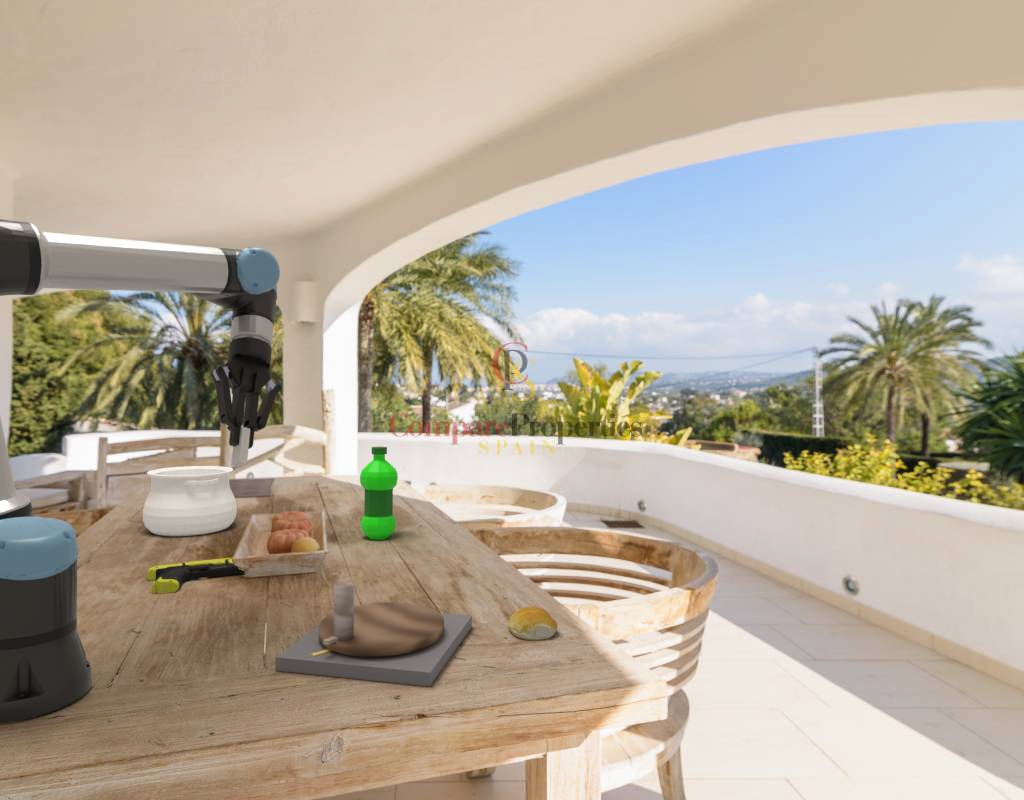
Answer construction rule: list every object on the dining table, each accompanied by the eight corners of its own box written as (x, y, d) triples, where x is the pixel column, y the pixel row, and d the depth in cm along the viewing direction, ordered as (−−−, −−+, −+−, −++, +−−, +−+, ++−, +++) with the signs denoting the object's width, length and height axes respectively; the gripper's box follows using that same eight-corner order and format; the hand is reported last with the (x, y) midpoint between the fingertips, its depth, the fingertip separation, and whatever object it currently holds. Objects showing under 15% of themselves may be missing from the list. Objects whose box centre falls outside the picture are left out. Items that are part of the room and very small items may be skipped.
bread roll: (547, 621, 123) (547, 599, 123) (561, 639, 114) (562, 616, 114) (503, 624, 121) (503, 602, 121) (514, 643, 112) (514, 619, 112)
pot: (132, 527, 195) (132, 469, 194) (219, 516, 211) (219, 463, 211) (156, 543, 176) (156, 479, 175) (250, 530, 192) (250, 472, 192)
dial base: (430, 686, 95) (430, 671, 95) (275, 670, 100) (275, 655, 100) (471, 626, 119) (472, 614, 119) (345, 616, 124) (345, 604, 124)
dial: (384, 603, 123) (385, 551, 123) (468, 627, 112) (469, 571, 111) (284, 638, 106) (284, 578, 106) (371, 671, 94) (371, 604, 94)
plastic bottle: (390, 542, 180) (391, 449, 179) (353, 540, 182) (354, 448, 181) (402, 534, 190) (403, 446, 189) (367, 532, 192) (367, 445, 191)
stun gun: (250, 572, 142) (242, 555, 156) (147, 583, 133) (147, 564, 147) (250, 585, 143) (242, 568, 156) (147, 598, 133) (147, 578, 147)
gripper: (271, 361, 133) (261, 476, 124) (207, 340, 124) (191, 462, 115) (292, 348, 129) (284, 466, 120) (228, 325, 120) (213, 451, 111)
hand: (239, 464), depth 117 cm, fingers closed
